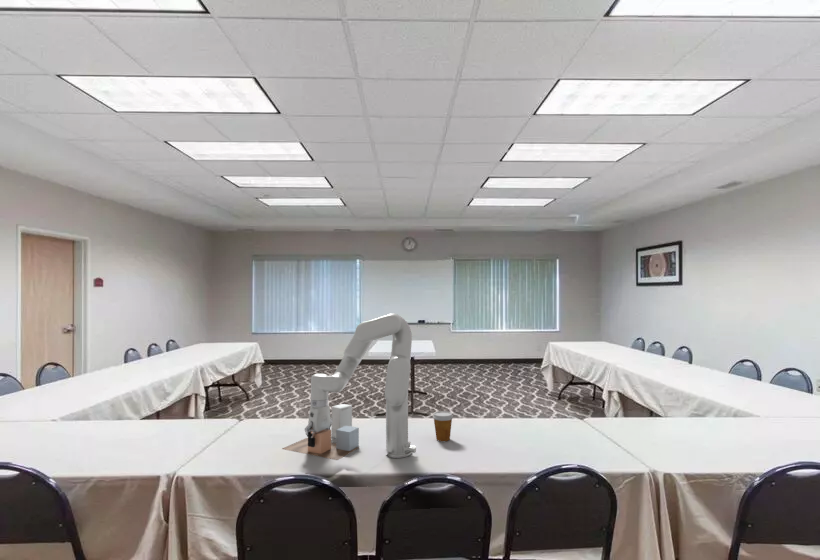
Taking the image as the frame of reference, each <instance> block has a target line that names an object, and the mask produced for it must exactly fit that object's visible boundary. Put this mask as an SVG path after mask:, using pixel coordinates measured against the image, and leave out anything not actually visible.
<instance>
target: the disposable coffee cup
mask: <svg viewBox="0 0 820 560" xmlns="http://www.w3.org/2000/svg"><path fill="white" fill-rule="evenodd" d="M453 417H454V415H453V414H452V412H450V411H442V410H439V411H436V412H435V411H434V412H433V415H432V418H433V421H434V422H433V423H434V431H435V438H436V439H437V440H436V441H438V440H439V442H443V441H445V442H449V441H450V440H451V439H450V438H451V430H452V422H453V421H452V420H453ZM448 440H449V441H448Z"/></svg>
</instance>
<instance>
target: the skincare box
mask: <svg viewBox="0 0 820 560" xmlns="http://www.w3.org/2000/svg"><path fill="white" fill-rule="evenodd" d="M331 418H332V419H333V420H332V423H331V427H330V430H331V438H334V439H336V430H337V429H339V428H342V427H344V426H351V427H353V405H352V404H347V403H346V404H345V403H341V404H337V405H332V406H331Z"/></svg>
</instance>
